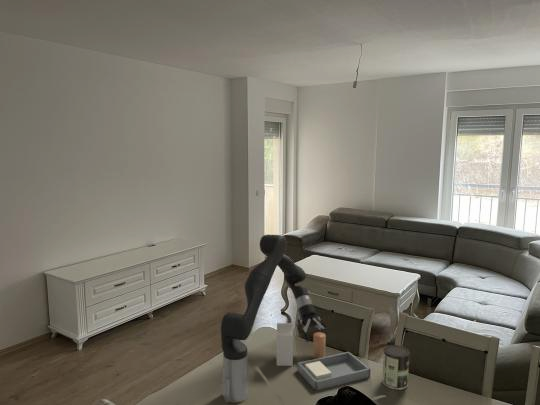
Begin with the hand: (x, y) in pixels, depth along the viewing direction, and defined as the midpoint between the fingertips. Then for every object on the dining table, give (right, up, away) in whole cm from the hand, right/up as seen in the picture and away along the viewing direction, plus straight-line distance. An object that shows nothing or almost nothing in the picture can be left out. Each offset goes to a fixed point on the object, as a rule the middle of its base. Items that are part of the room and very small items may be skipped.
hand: (316, 339), depth 189 cm
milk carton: (-15, -10, -4) cm, 18 cm away
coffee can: (+30, -12, -19) cm, 38 cm away
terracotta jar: (+1, -9, -1) cm, 9 cm away
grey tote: (+5, -11, -14) cm, 19 cm away
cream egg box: (-1, -10, -17) cm, 20 cm away
